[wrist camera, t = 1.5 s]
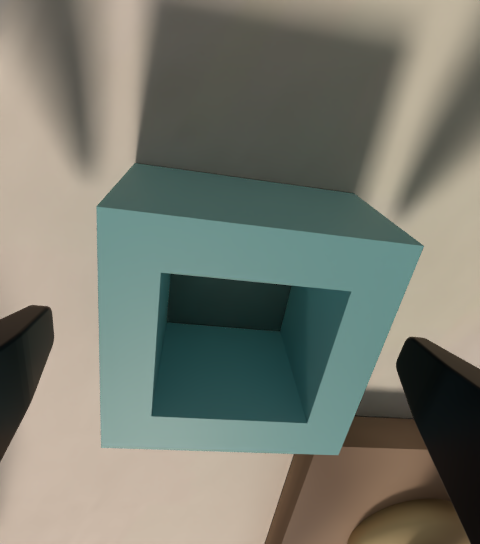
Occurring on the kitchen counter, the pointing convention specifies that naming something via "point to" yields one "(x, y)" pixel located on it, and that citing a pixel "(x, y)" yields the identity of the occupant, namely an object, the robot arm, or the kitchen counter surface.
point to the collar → (237, 341)
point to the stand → (367, 492)
